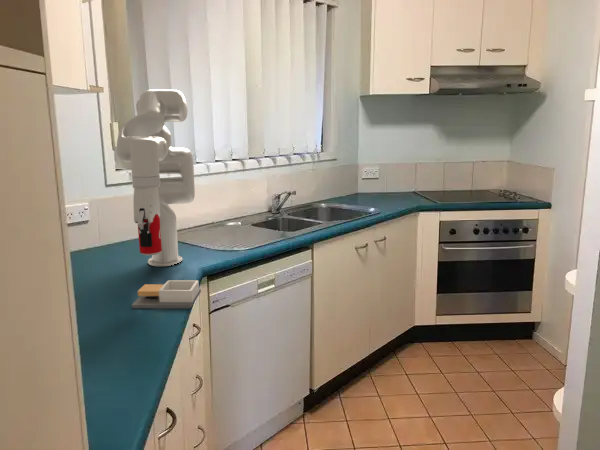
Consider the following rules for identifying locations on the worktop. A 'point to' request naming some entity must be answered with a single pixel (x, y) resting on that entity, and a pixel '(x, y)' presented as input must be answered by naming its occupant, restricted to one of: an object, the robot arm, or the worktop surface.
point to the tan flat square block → (150, 290)
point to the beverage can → (153, 238)
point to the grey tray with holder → (172, 295)
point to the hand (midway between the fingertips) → (150, 243)
